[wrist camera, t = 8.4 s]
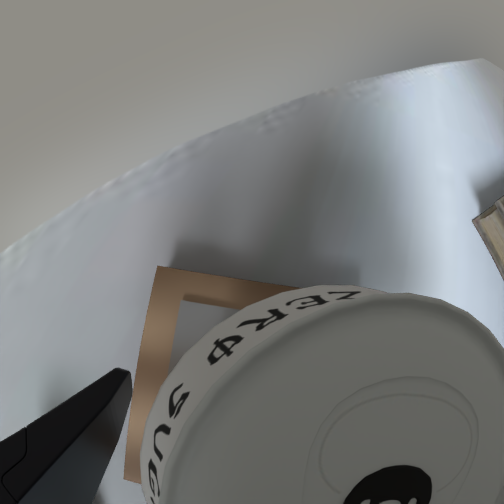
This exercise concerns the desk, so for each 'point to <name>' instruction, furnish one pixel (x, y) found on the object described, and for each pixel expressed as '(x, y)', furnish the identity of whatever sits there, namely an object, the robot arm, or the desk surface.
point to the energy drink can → (332, 406)
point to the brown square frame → (180, 335)
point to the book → (493, 232)
